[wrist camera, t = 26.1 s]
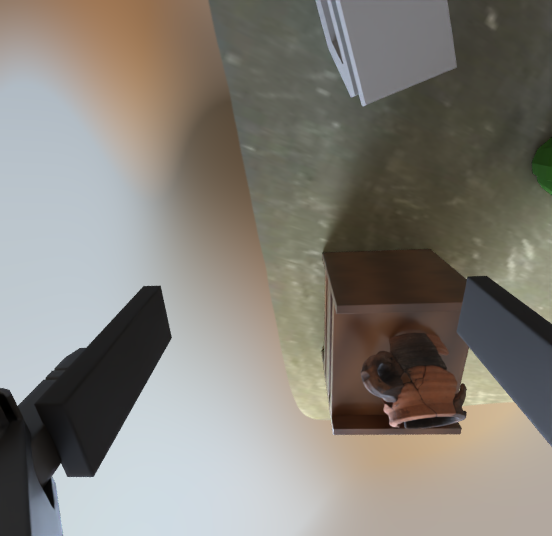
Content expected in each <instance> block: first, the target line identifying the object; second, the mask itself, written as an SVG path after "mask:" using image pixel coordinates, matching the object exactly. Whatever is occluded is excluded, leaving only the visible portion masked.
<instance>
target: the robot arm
mask: <svg viewBox="0 0 552 536" xmlns="http://www.w3.org/2000/svg"><path fill="white" fill-rule="evenodd" d="M457 333H458V334H459V336H460V337H461V338H462V339H463V340H464V342H465V343H466V344H467V345H468V346H469V348H470V349H471V350H472V351H473V352H474V354H475V355H476V356H477V357H478V358H479V360H480V361H481V362H482V363H483V365H484V366H485V367H486V368H487V369H488V371H489V372H490V373H491V374H492V375H493V377H494V378H495V379H496V380H497V381H498V383H499V384H500V385H501V386H502V387H503V389H504V390H505V391H506V392H507V393H508V395H509V396H510V397H511V398H512V399H513V401H514V402H515V403H516V404H517V405H518V407H519V408H520V409H521V410H522V411H523V413H524V414H525V415H526V416H527V417H528V419H529V420H530V421H531V422H532V424H533V425H534V426H535V427H536V428H537V430H538V431H539V432H540V433H541V434H542V436H543V437H544V438H545V439H546V440H547V442H548V443H549V444H550V445H551V446H552V324H551V323H550V322H548V321H547V320H545V319H544V318H543V317H541V316H540V315H539V314H537V313H536V312H535V311H533V310H532V309H531V308H529V307H528V306H527V305H525V304H524V303H522V302H521V301H520V300H518V299H517V298H516V297H514V296H513V295H512V294H510V293H509V292H508V291H506V290H505V289H504V288H502V287H501V286H499V285H498V284H497V283H495V282H494V281H493V280H491V279H490V278H489V277H487V276H471V277H468V278H467V283H466V288H465V292H464V297H463V302H462V307H461V312H460V317H459V322H458V327H457ZM171 338H172V337H171V332H170V328H169V323H168V318H167V314H166V309H165V304H164V300H163V295H162V290H161V286H143V287H142V289H140V291H139V292H138V293H137V294H136V295H135V296H134V297H133V298H132V299H131V300H130V301H129V303H128V304H127V305H126V306H125V307H124V308H123V309H122V310H121V311H120V312H119V313H118V314H117V315H116V317H115V318H114V319H113V320H112V321H111V322H110V323H109V324H108V325H107V326H106V327H105V328H104V329H103V331H102V332H101V333H100V334H99V335H98V336H97V337H96V338H95V339H94V340H93V341H92V342H91V344H89V346H88V347H87V348H79V349H78V350H76V351H75V352H73V353H72V354H70V355H69V356H67V357H66V358H64V359H63V360H62V361H61V362H60V363H59V365H58V366H57V367H56V368H55V370H54V371H52V372H51V373H50V374H49V375H48V376H47V377H46V379H45V380H43V381H42V382H41V383H40V384H39V385H38V386H37V387H36V388H35V389H34V390H33V391H32V392H31V393H30V394H29V395H28V396H27V397H26V398H25V399H24V400H23V401H22V402H21V403H20V404H19V405H18V406H17V405H16V402H15V400H14V398H13V396H12V394H11V392H10V390H7V389H4V388H0V536H63V531H62V524H61V517H60V511H59V503H58V497H57V490H56V484H55V482H54V480H53V477H52V475H53V474H54V472H55V471H56V469H57V468H58V466H59V465H60V463H61V464H62V466H63V468H64V470H65V472H66V475H67V477H94V475H95V473H96V472H97V470H98V468H99V466H100V464H101V463H102V461H103V459H104V457H105V455H106V454H107V452H108V450H109V448H110V447H111V445H112V443H113V441H114V440H115V438H116V436H117V434H118V432H119V431H120V429H121V427H122V425H123V423H124V422H125V420H126V418H127V416H128V415H129V413H130V411H131V409H132V408H133V406H134V404H135V402H136V400H137V398H138V397H139V395H140V393H141V392H142V390H143V388H144V386H145V384H146V383H147V381H148V379H149V377H150V375H151V374H152V372H153V370H154V368H155V366H156V365H157V363H158V361H159V360H160V358H161V356H162V354H163V352H164V350H165V349H166V347H167V345H168V344H169V342H170V340H171Z"/></svg>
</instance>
